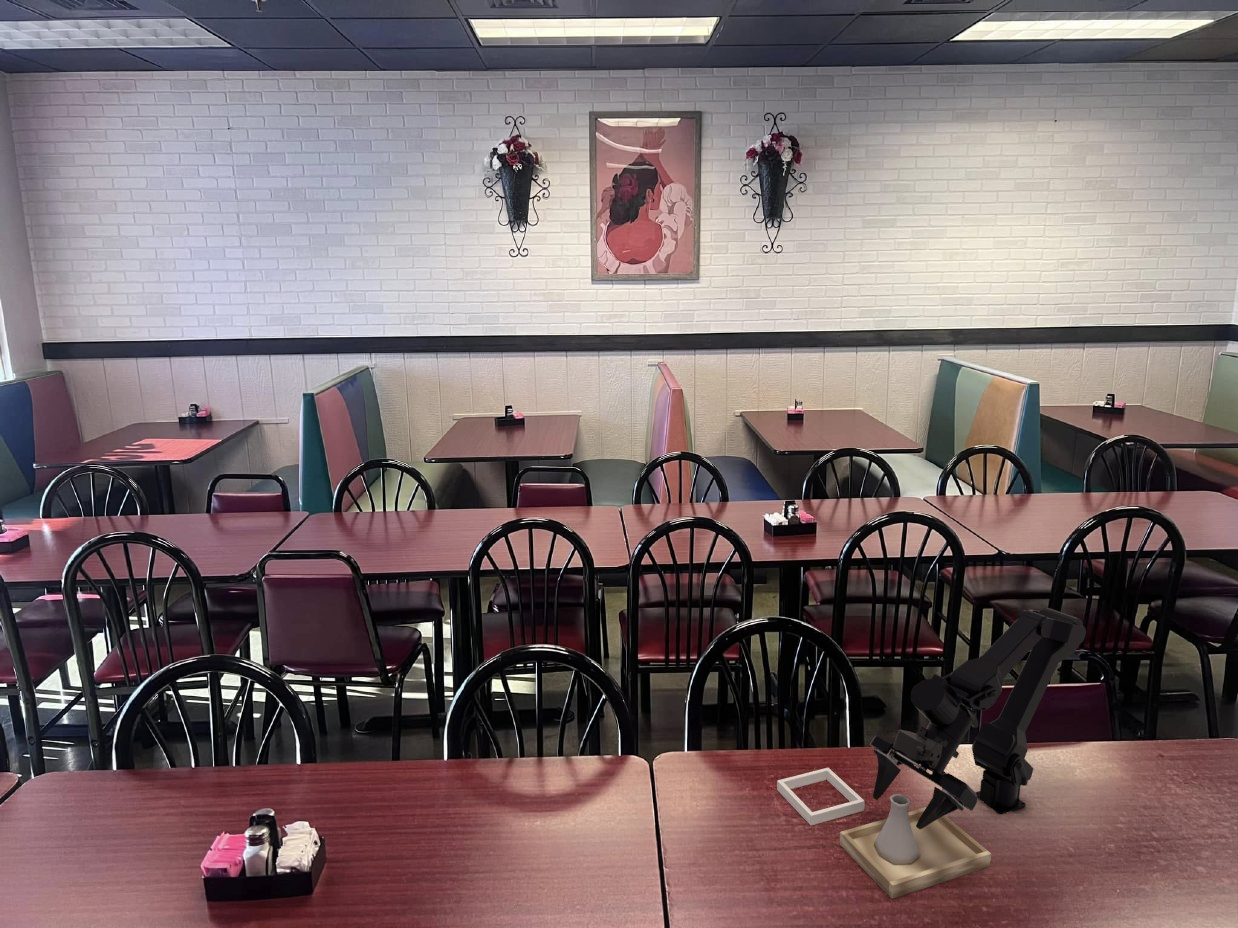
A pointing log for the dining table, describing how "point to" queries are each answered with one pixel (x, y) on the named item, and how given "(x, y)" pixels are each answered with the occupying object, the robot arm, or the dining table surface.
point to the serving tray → (939, 860)
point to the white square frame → (825, 814)
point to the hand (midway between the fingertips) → (895, 812)
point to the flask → (897, 834)
